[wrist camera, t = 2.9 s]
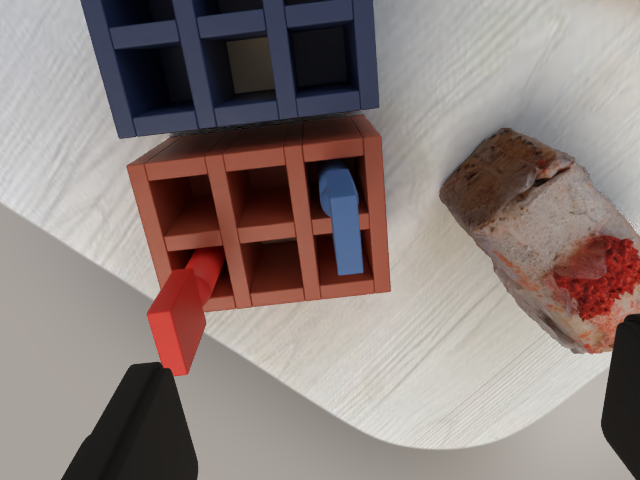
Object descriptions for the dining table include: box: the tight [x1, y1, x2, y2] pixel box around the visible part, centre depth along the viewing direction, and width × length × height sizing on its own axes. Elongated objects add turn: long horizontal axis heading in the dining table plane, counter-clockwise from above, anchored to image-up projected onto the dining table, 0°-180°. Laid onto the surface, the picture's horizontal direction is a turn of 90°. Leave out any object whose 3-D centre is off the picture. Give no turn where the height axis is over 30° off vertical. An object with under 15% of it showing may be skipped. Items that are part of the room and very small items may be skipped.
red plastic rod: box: [147, 245, 226, 376], centre depth 25 cm, size 2×3×14 cm, turn 7°
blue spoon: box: [317, 158, 364, 275], centre depth 24 cm, size 2×3×14 cm, turn 6°
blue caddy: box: [80, 0, 379, 139], centre depth 24 cm, size 13×9×8 cm
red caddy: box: [127, 115, 391, 312], centre depth 28 cm, size 13×9×8 cm
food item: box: [439, 128, 640, 354], centre depth 28 cm, size 14×8×10 cm, turn 47°
